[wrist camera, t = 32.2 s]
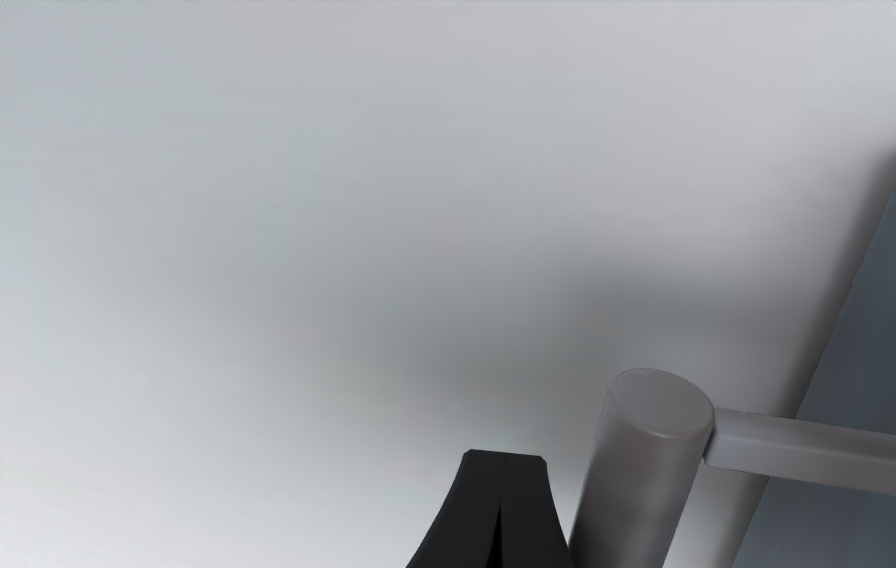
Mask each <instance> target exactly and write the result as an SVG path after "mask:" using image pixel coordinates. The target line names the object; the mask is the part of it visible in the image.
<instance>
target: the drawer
mask: <svg viewBox="0 0 896 568" xmlns="http://www.w3.org/2000/svg"><path fill="white" fill-rule="evenodd" d="M702 456H703V458H704V463H705V464H706V465H707V466H709V467H715V468H722V469H728V470H734V471H741V472H747V473H754V474H760V475H766V476H770V478H769V480H768V482H767V484H766V487H765V489H764V491H763V494H762V496H761V498H760V501H759V503H758V505H757V508H756V510H755V512H754V515H753V517H752V519H751V522H750V524H749V526H748V529H747V531H746V533H745V536H744V538H743V540H742V543H741V545H740V547H739V550H738V552H737V554H736V557H735V559H734V561H733V564H732V566H731V568H896V184H895V186H894V189H893V191H892V193H891V196H890V198H889V200H888V203H887V205H886V207H885V210H884V212H883V214H882V217H881V219H880V221H879V224H878V226H877V228H876V231H875V233H874V235H873V238H872V240H871V242H870V245H869V247H868V249H867V252H866V254H865V256H864V259H863V261H862V263H861V266H860V268H859V270H858V273H857V275H856V277H855V280H854V282H853V284H852V287H851V289H850V291H849V294H848V296H847V298H846V301H845V303H844V305H843V308H842V310H841V312H840V315H839V317H838V319H837V322H836V324H835V326H834V328H833V331H832V333H831V335H830V338H829V340H828V342H827V345H826V347H825V349H824V352H823V354H822V356H821V359H820V361H819V363H818V366H817V368H816V370H815V373H814V375H813V377H812V380H811V382H810V384H809V387H808V389H807V391H806V394H805V396H804V398H803V401H802V403H801V405H800V408H799V410H798V412H797V415H796V417H795V419H794V420H793V419H787V418H780V417H774V416H767V415H761V414H754V413H748V412H741V411H734V410H728V409H721V408H715V407H713V405H712V403H711V401H710V400H709V398H708V397H707V396H706V394H705V393H704V392H703V391H702V390H700V389H699V388H698V387H697V386H695V385H694V384H693V383H691V382H689V381H688V380H686V379H684V378H682V377H680V376H677V375H675V374H672V373H669V372H665V371H661V370H656V369H633V370H629V371H625V372H623V373H621V374H619V375H618V376H617V377H615V378H614V379H613V380H612V382H611V383H610V384H609V386H608V389H607V393H606V397H605V401H604V405H603V409H602V413H601V417H600V421H599V425H598V428H597V432H596V436H595V440H594V444H593V448H592V452H591V456H590V460H589V464H588V467H587V471H586V475H585V479H584V483H583V487H582V491H581V495H580V499H579V502H578V506H577V510H576V514H575V518H574V522H573V526H572V530H571V534H570V538H569V541H568V545H567V546H568V549H569V552H570V554H571V557H572V560H573V562H574V565H575V568H662V567H663V565H664V562H665V559H666V556H667V553H668V551H669V548H670V545H671V542H672V539H673V537H674V534H675V531H676V528H677V526H678V523H679V520H680V517H681V514H682V512H683V509H684V506H685V503H686V501H687V498H688V495H689V492H690V489H691V487H692V484H693V481H694V478H695V475H696V473H697V470H698V467H699V464H700V462H701V459H702Z"/></svg>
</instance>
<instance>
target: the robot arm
mask: <svg viewBox="0 0 896 568" xmlns="http://www.w3.org/2000/svg"><path fill="white" fill-rule="evenodd" d="M406 568H575V565H574V562H573V560H572V557H571V554H570V552H569V549H568V546H567V543H566V541H565V538H564V535H563V532H562V529H561V526H560V522H559V519H558V515H557V512H556V509H555V505H554V501H553V497H552V493H551V489H550V484H549V478H548V473H547V463H546V461H545V460H544V459H543V458H542V457H541V456H535V455H525V454H515V453H505V452H495V451H485V450H475V449H470V450H468V451H467V452H465V453H464V454H463V457H462V461H461V464H460V467H459V469H458V472H457V474H456V477H455V479H454V482H453V484H452V486H451V488H450V491H449V493H448V495H447V497H446V499H445V501H444V503H443V505H442V507H441V509H440V511H439V513H438V514H437V516H436V518H435V520H434V521H433V523H432V525H431V527H430V529H429V530H428V532H427V534H426V536H425V537H424V539H423V541H422V543H421V544H420V546H419V548H418V549H417V551H416V553H415V554H414V556H413V557H412V559H411V560H410V562H409V563H408V565H407V566H406Z"/></svg>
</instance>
